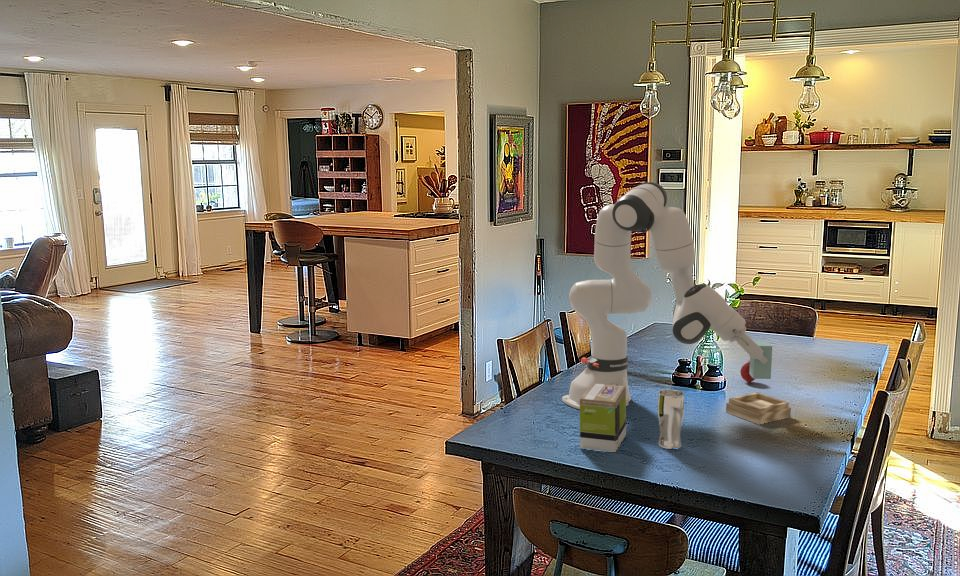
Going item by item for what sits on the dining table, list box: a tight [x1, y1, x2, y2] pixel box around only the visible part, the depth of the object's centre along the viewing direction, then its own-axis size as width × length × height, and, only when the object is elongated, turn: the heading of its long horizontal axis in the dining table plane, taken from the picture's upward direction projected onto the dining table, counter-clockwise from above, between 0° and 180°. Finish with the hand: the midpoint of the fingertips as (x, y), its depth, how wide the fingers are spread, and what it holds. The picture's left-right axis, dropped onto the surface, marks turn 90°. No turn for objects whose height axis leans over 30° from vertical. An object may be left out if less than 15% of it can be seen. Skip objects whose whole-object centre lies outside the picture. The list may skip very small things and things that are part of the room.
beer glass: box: [657, 388, 685, 449], centre depth 212 cm, size 7×7×15 cm
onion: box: [740, 359, 756, 384], centre depth 270 cm, size 6×6×8 cm
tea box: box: [579, 383, 627, 453], centre depth 216 cm, size 15×10×15 cm, turn 159°
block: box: [749, 341, 773, 380], centre depth 235 cm, size 5×5×10 cm
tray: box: [725, 392, 792, 426], centre depth 237 cm, size 13×13×4 cm
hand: (762, 359), depth 235 cm, fingers closed on block, 5 cm apart
